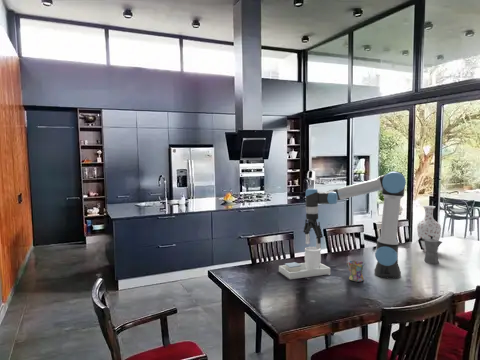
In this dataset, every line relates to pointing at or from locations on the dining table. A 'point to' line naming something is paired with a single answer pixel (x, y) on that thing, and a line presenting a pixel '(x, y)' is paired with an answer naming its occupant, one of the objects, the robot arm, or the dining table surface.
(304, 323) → the dining table surface
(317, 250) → the jar
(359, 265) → the candy bag
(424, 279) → the dining table surface
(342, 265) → the dining table surface
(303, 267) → the white rectangular tray
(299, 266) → the lid
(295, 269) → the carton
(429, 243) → the coffeepot
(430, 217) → the vase
